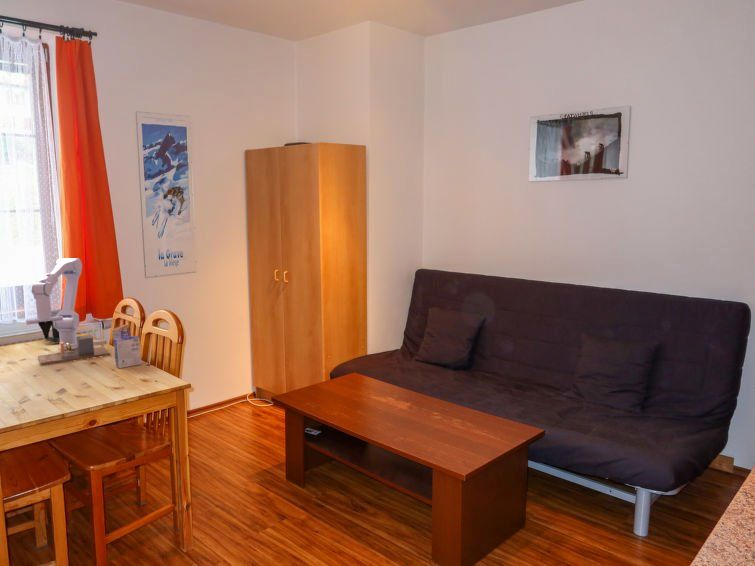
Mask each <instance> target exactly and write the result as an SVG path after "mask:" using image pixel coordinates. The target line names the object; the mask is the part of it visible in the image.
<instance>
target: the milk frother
mask: <svg viewBox="0 0 755 566" xmlns="http://www.w3.org/2000/svg"><path fill="white" fill-rule="evenodd" d="M61 310H62V309H55V310H51V315H52V317H55V316H56V315H57V313H58V312H60V311H61ZM40 322H42V321H40ZM45 329H46V325H45ZM51 332H52V337H50V336H49V337H48V338H46V339H45V340H47V341H50V342H52V343H54V344H58V343H60V336H59V331H57V329H56V328H55V327H54V322H52V326H51ZM42 334H43V336H44V333H43V332H42Z"/></svg>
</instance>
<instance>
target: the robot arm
mask: <svg viewBox="0 0 755 566" xmlns="http://www.w3.org/2000/svg"><path fill="white" fill-rule="evenodd" d="M82 270H83V262H82V260H81V259H80V258H78V257H77V258H71V257H70V258H64V257H63V258H61V257H59V258H58V259H57V260H56V261H55V267H54V268H53V269H52V271H51V272H47V273H45V275H44V276H43V277H42V278H41V279H40V280H39V281H38V282H35V283H33V284H32V285H31V290H30V291H31V293H32V295H33V298H34V300H35V309H36V318H31V319H26V320H25V321H26V322H25V323H26V325H27V326H28V325H35V324H37V325H38V326H39V327H40V330H41V331H42V334H43V333H44V335H43V336H44V339H45V340H47V339H46V338H48V337H50V331H51V329H52V322H54V327H55V328H56V329H57V331H59V336H60V341H63V343H64V345H66V343H70V344H77V339H76V337H77V330H78V328H79V327H80V315H79V313H77V312H76V311H75V306H76V300H77V299H76V298H77V292H78V286H79V279H80V277H81V275H82ZM61 275H62V276H63V277H64V278H66V282H65V289H64V296H63V301H62V310H61V309H60V310H61V311H60V312H58V313H57V315H56V316H55V317H52V315H51V314H52V313H51V311H52V308H51V307H52V306H51V305H52V304H51V294H52V293H53V289H54V286H55V285H56V284H57V283H58V281H59V277H60V276H61ZM41 321H42V322H41ZM45 325H46V329H45ZM58 348H59V350H60V345H58ZM74 350H77V348H75V349H74Z"/></svg>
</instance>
